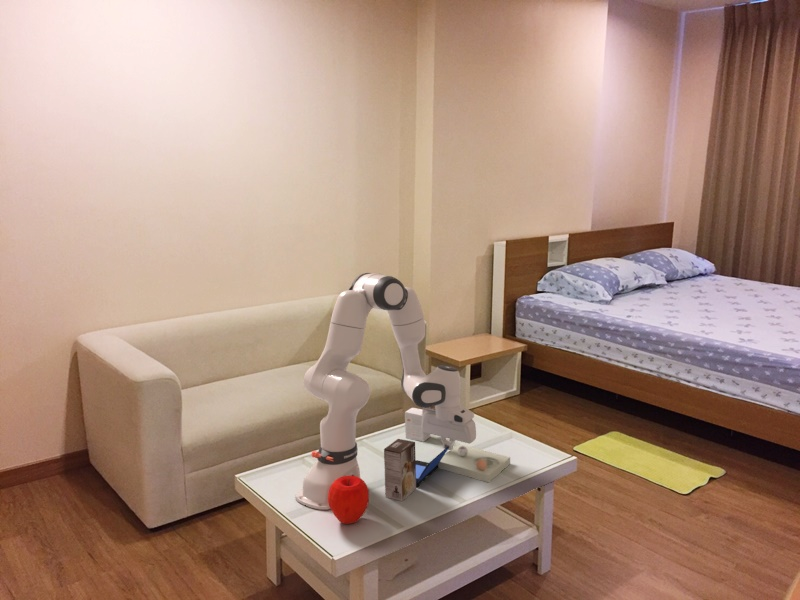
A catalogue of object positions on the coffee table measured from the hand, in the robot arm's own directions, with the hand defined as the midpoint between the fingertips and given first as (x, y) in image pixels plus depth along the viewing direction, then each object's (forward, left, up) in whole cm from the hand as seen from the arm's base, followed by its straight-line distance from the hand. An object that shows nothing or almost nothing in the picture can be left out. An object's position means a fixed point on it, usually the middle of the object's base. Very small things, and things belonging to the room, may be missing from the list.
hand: (448, 448), depth 223 cm
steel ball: (0, -6, +1) cm, 6 cm away
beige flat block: (0, -10, -4) cm, 11 cm away
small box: (+10, +19, -4) cm, 22 cm away
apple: (-51, +3, -4) cm, 51 cm away
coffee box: (-29, 0, -4) cm, 29 cm away
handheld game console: (-16, +1, -4) cm, 17 cm away
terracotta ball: (-6, -16, +1) cm, 17 cm away
